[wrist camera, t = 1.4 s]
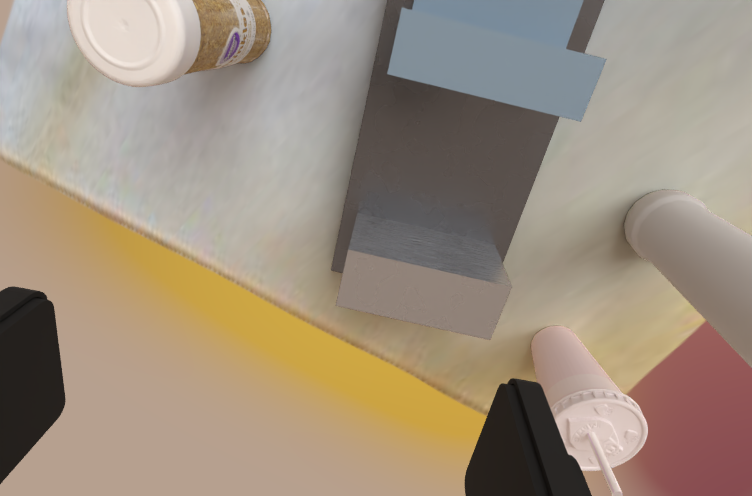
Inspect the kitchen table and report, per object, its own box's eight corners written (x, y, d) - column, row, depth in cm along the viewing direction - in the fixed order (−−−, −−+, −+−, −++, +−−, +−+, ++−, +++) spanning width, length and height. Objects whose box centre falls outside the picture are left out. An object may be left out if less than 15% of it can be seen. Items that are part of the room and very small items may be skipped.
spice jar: (265, 72, 31) (175, 104, 19) (196, 49, 31) (60, 68, 19) (279, -4, 29) (189, -22, 17) (207, -29, 29) (61, -65, 17)
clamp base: (442, -255, 24) (456, -365, 17) (668, -192, 24) (768, -274, 18) (333, 261, 37) (317, 315, 30) (483, 295, 37) (500, 355, 31)
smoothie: (553, 297, 37) (629, 439, 24) (611, 338, 38) (712, 494, 26) (497, 349, 39) (540, 503, 27) (554, 387, 41) (620, 550, 28)
